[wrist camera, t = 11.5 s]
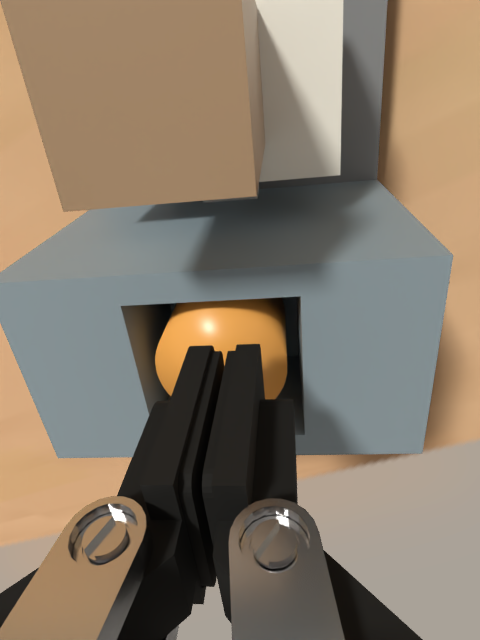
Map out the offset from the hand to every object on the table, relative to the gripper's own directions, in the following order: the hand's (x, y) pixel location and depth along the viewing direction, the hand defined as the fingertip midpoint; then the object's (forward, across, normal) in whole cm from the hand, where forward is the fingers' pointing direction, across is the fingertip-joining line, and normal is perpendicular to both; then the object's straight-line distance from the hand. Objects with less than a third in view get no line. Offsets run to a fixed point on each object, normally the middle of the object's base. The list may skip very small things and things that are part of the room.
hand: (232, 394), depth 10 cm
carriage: (+8, +1, -7) cm, 11 cm away
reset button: (+4, +1, 0) cm, 4 cm away
